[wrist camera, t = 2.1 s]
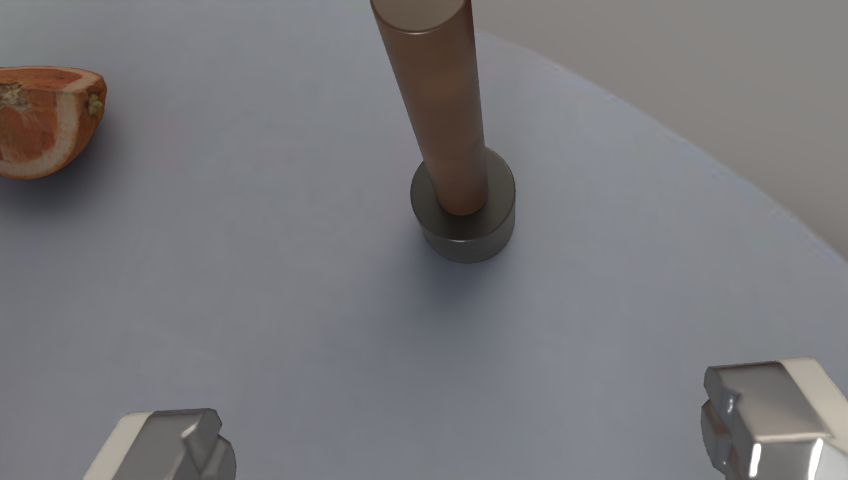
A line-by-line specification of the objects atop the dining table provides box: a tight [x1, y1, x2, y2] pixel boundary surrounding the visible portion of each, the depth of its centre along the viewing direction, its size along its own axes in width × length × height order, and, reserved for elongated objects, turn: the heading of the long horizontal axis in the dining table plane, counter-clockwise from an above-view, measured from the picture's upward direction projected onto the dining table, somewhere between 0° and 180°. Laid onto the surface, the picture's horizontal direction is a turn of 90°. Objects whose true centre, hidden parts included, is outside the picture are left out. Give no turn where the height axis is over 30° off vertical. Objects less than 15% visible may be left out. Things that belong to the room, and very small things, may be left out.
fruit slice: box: [0, 66, 107, 180], centre depth 32 cm, size 8×7×5 cm
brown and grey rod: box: [370, 0, 516, 263], centre depth 22 cm, size 4×4×17 cm
